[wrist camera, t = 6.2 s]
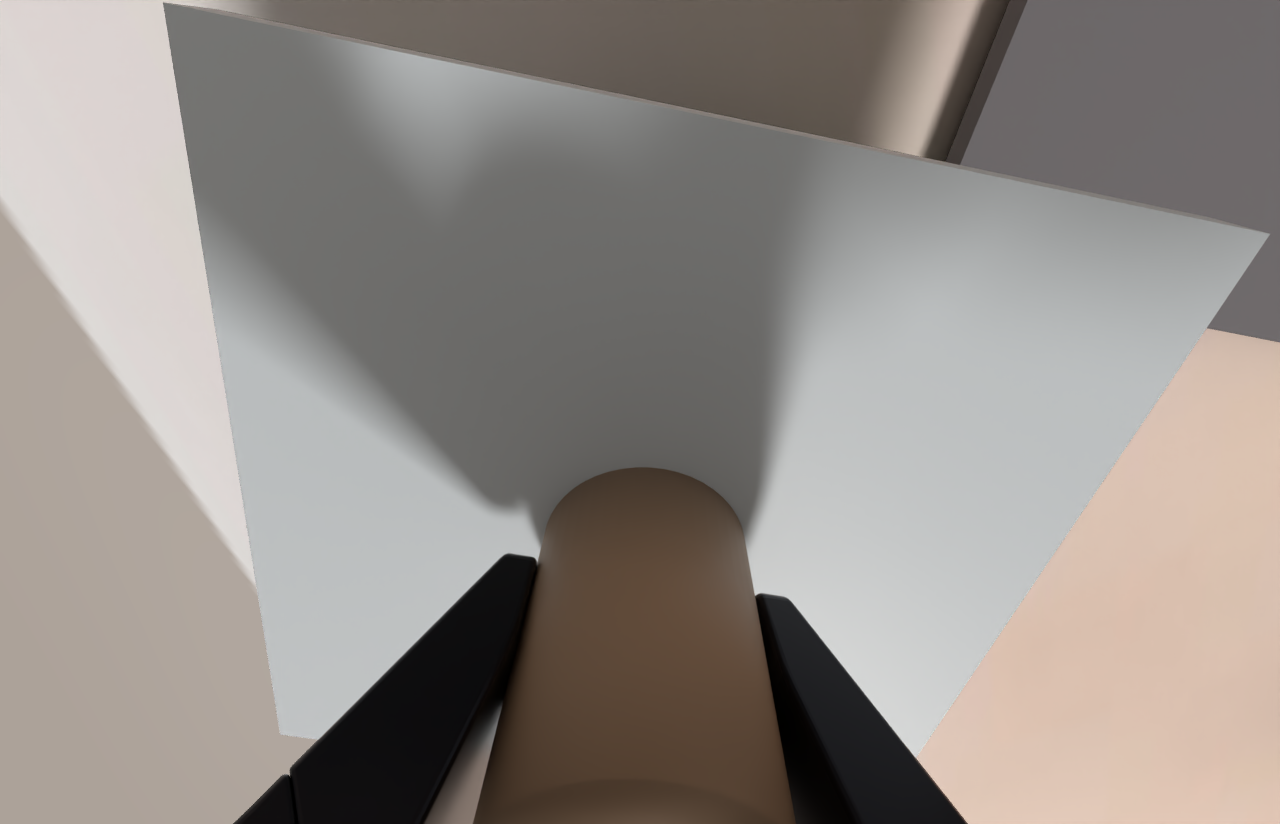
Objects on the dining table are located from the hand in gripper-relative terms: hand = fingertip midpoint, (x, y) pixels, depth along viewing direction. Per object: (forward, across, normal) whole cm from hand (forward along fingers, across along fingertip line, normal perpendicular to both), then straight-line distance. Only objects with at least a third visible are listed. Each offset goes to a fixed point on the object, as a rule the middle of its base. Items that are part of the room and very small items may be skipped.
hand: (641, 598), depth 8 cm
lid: (+2, 0, 0) cm, 2 cm away
